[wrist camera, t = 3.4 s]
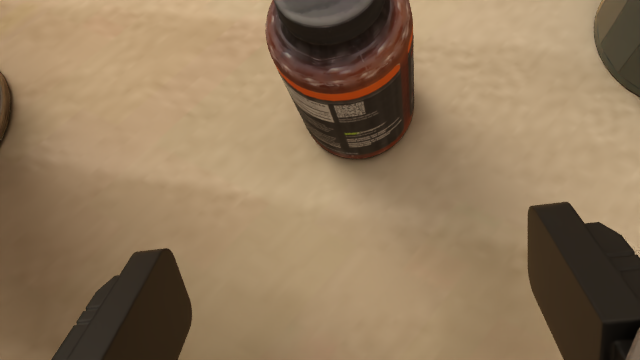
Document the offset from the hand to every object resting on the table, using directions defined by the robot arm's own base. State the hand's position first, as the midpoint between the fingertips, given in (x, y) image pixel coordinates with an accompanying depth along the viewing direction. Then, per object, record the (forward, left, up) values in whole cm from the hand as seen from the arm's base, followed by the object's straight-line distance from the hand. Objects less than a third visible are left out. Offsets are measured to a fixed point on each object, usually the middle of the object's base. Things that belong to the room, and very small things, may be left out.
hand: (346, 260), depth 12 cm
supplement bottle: (-5, +9, -15) cm, 18 cm away
